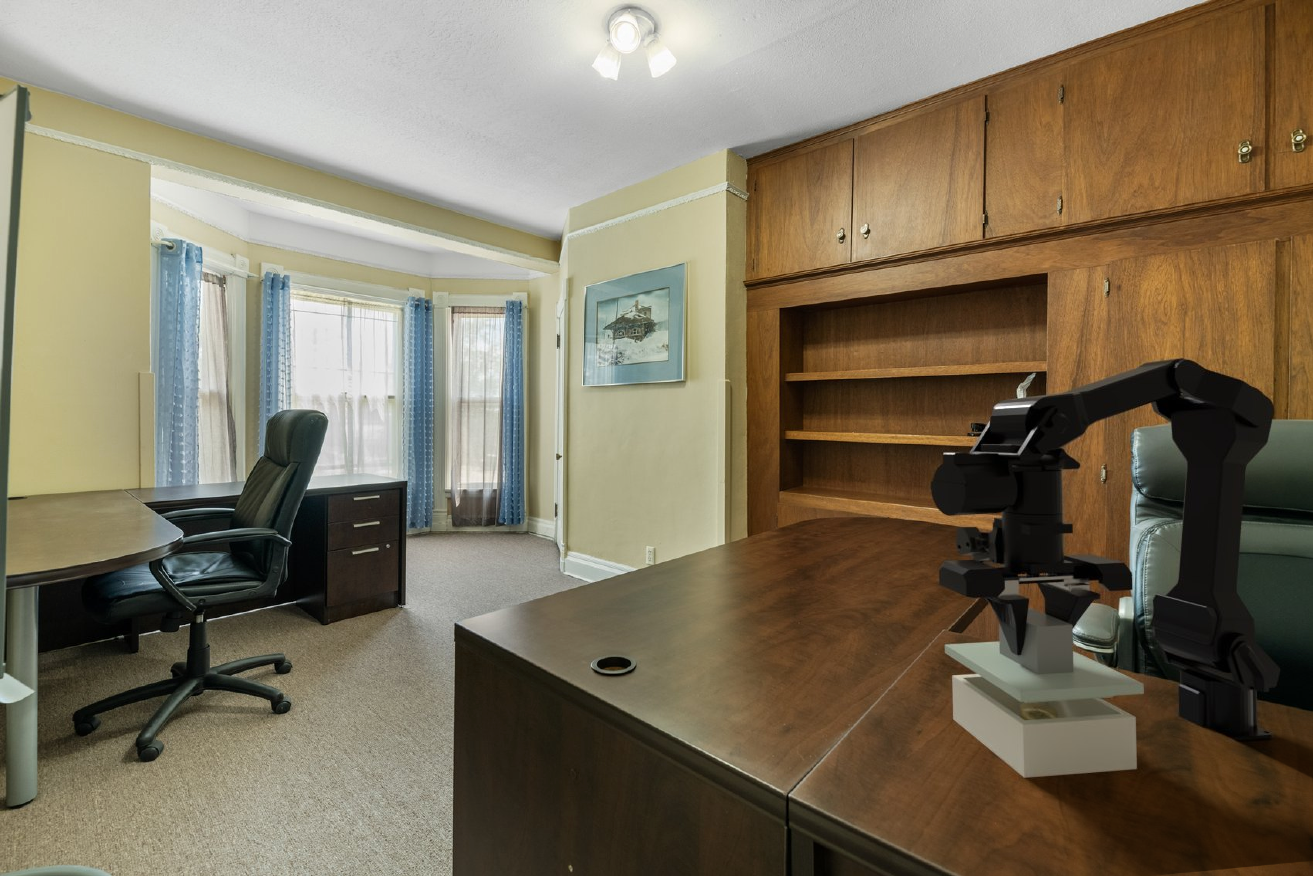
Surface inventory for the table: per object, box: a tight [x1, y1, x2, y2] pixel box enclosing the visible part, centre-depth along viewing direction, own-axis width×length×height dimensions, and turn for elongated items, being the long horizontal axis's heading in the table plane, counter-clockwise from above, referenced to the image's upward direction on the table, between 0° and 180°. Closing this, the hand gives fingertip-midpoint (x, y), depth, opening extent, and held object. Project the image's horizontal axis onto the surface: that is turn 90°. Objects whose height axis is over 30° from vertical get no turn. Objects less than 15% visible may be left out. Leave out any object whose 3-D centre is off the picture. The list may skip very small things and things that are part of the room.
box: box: [951, 673, 1138, 779], centre depth 64 cm, size 12×12×6 cm
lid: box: [944, 607, 1145, 703], centre depth 64 cm, size 13×13×7 cm
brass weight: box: [1020, 702, 1058, 720], centre depth 66 cm, size 4×4×3 cm
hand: (1034, 653), depth 64 cm, fingers closed on lid, 4 cm apart
